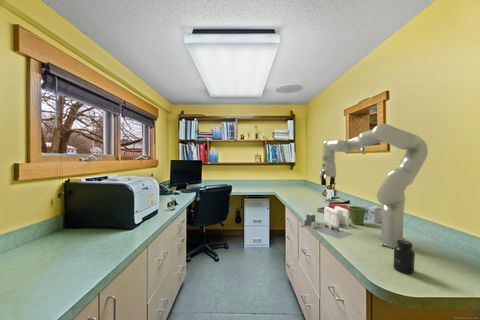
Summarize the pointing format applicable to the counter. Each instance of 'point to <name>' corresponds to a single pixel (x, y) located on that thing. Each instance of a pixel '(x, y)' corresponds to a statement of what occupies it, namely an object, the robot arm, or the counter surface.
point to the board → (327, 229)
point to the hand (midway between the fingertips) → (328, 184)
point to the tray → (323, 210)
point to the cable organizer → (336, 216)
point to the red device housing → (339, 206)
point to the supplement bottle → (404, 257)
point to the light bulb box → (373, 213)
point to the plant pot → (357, 214)
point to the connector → (310, 219)
